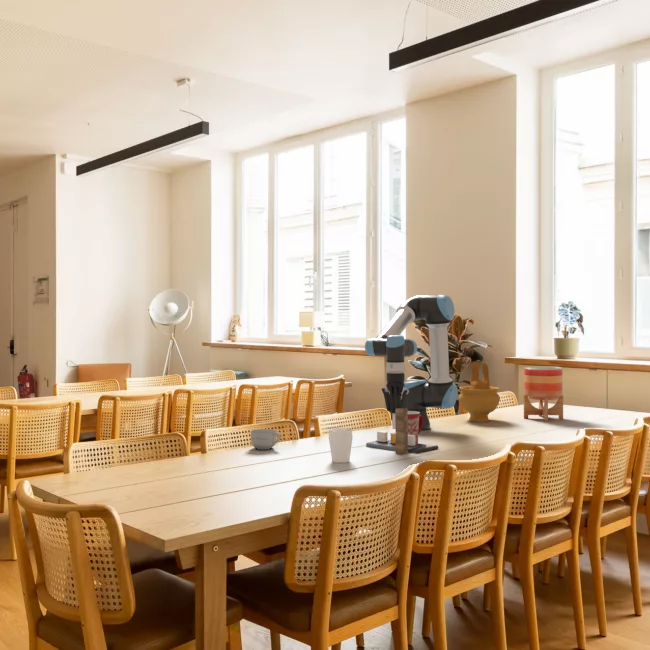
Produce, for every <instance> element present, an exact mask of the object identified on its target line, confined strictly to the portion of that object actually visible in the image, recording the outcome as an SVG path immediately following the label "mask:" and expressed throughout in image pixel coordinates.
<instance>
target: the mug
mask: <svg viewBox="0 0 650 650" xmlns="http://www.w3.org/2000/svg"><path fill="white" fill-rule="evenodd" d="M419 414H420V412H416V411H408V435H415V443H417V444H419V435H420V433H421V431H422V430H421V428H422V425H423V417H422V416H421V415H419ZM419 418H420V423H419Z"/></svg>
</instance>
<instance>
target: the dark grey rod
mask: <svg viewBox="0 0 650 650" xmlns="http://www.w3.org/2000/svg"><path fill="white" fill-rule="evenodd" d="M438 449H439V446H438V445H437V444H436V445H432V446H426V448H421V449H416V450H414V452H413V453H415V454H418V453H419V454H420V453H423V452H427V451H433V450H438Z"/></svg>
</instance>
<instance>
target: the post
mask: <svg viewBox="0 0 650 650" xmlns="http://www.w3.org/2000/svg"><path fill="white" fill-rule="evenodd" d="M395 426H396V429H395V433H396V451H395V455H396V454H397V455H401V456H402V455H407V454H408V409H407V408H397V409H395Z"/></svg>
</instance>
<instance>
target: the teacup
mask: <svg viewBox="0 0 650 650" xmlns="http://www.w3.org/2000/svg"><path fill="white" fill-rule="evenodd" d="M281 439H282V435H281V433H280V431H279V432H278V431H277V429H274V428H273V429H272V428H258V429H257V428H256V429H251V430H250V443H251V446H252V447H254V449H255V448H257V449H256V450H271V449H273V448H274V446H275V445H276V444H277V443H279V442H280V441H281ZM270 448H271V449H270Z"/></svg>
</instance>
